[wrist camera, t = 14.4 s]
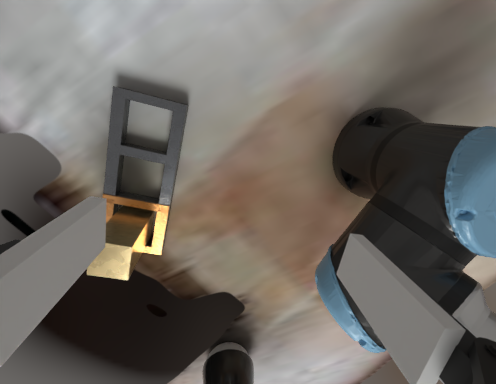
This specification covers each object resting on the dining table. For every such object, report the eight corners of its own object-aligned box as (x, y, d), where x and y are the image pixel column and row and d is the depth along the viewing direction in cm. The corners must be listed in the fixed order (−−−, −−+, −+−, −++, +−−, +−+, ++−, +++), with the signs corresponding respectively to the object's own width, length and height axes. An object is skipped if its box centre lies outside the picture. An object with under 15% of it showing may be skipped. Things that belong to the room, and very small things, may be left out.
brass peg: (154, 210, 43) (132, 247, 32) (150, 235, 45) (127, 280, 34) (124, 204, 43) (89, 240, 31) (120, 230, 44) (86, 274, 33)
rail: (188, 105, 39) (186, 105, 37) (163, 248, 46) (160, 255, 44) (118, 87, 37) (112, 86, 35) (104, 238, 44) (98, 245, 42)
